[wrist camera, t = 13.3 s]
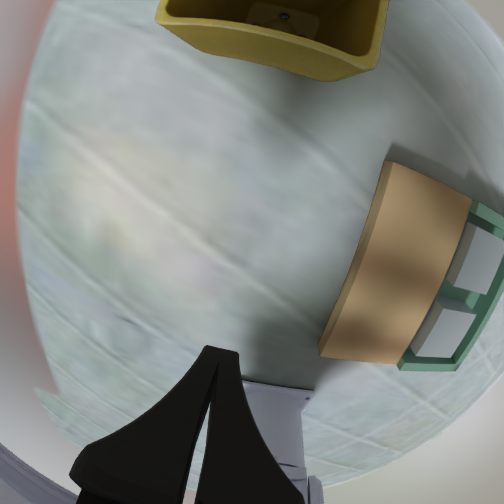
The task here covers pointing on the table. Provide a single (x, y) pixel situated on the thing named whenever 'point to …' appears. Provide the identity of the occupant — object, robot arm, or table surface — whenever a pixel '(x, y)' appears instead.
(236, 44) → the flower pot
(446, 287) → the tray
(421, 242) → the board
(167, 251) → the table surface
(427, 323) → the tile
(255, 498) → the robot arm
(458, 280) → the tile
